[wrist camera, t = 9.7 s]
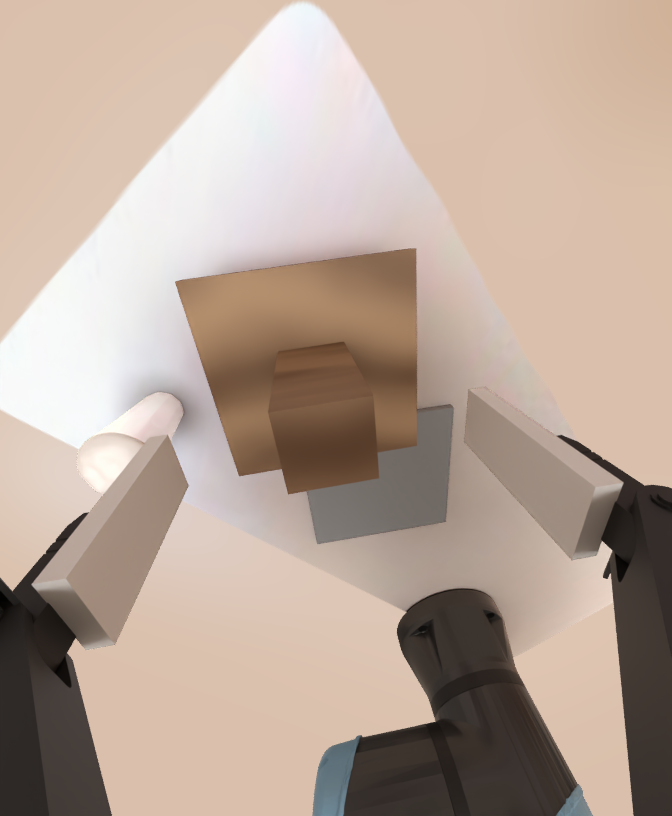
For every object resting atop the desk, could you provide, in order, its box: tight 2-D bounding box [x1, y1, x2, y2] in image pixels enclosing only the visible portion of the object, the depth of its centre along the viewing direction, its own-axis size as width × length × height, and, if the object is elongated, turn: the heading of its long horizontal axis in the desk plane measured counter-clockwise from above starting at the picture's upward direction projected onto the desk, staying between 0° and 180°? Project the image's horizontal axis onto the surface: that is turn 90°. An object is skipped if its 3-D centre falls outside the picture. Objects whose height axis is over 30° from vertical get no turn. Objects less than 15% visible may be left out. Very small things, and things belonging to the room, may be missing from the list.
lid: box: [175, 249, 417, 494], centre depth 17 cm, size 13×13×9 cm
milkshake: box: [77, 392, 184, 493], centre depth 23 cm, size 5×5×10 cm
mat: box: [307, 405, 454, 544], centre depth 33 cm, size 15×15×1 cm
